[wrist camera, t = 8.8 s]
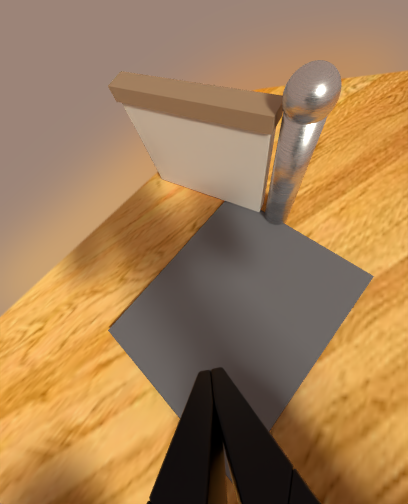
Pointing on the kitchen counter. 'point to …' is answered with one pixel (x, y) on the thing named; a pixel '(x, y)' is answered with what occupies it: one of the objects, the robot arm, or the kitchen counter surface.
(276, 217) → the gate post
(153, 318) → the mat
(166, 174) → the panel
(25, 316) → the kitchen counter surface
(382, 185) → the kitchen counter surface
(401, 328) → the kitchen counter surface
